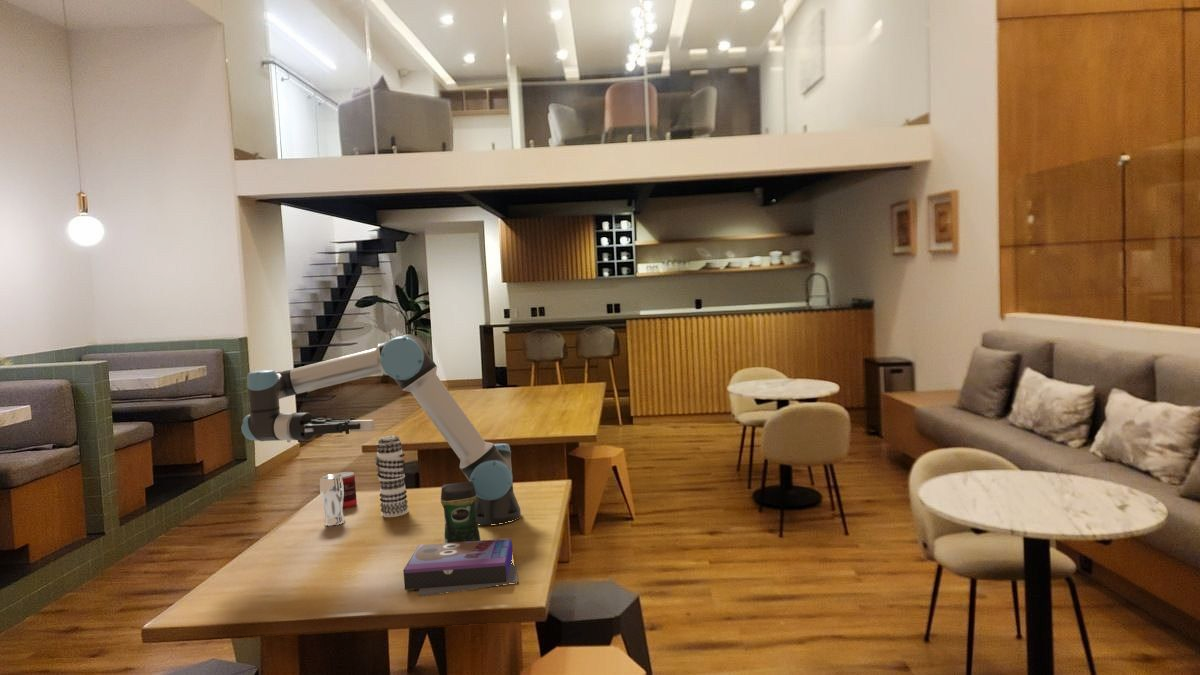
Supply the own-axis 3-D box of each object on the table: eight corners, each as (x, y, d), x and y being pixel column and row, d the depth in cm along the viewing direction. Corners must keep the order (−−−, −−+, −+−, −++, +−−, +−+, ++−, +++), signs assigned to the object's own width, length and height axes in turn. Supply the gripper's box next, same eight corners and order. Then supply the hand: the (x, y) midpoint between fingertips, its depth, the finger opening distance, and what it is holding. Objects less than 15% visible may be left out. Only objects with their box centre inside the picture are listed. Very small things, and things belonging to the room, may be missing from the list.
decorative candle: (396, 507, 250) (390, 433, 249) (415, 511, 245) (409, 435, 243) (374, 515, 243) (367, 439, 241) (392, 518, 237) (386, 440, 236)
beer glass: (338, 526, 233) (334, 479, 232) (318, 526, 234) (314, 479, 233) (350, 519, 239) (346, 473, 238) (331, 519, 241) (326, 473, 240)
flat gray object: (512, 552, 199) (512, 550, 199) (518, 583, 177) (518, 581, 177) (423, 563, 195) (423, 561, 195) (418, 596, 173) (418, 594, 173)
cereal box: (418, 545, 193) (511, 538, 194) (420, 563, 194) (513, 556, 194) (403, 569, 176) (505, 562, 177) (404, 589, 176) (507, 582, 177)
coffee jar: (479, 543, 208) (474, 477, 207) (482, 552, 201) (476, 484, 199) (444, 548, 206) (439, 481, 205) (445, 557, 198) (439, 488, 197)
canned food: (335, 504, 260) (333, 472, 259) (359, 502, 261) (356, 470, 260) (329, 510, 252) (327, 478, 252) (354, 508, 253) (351, 476, 252)
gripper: (312, 435, 212) (387, 434, 206) (281, 445, 199) (360, 444, 193) (310, 409, 211) (384, 407, 205) (279, 417, 199) (357, 415, 193)
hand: (372, 425), depth 199 cm, fingers closed
